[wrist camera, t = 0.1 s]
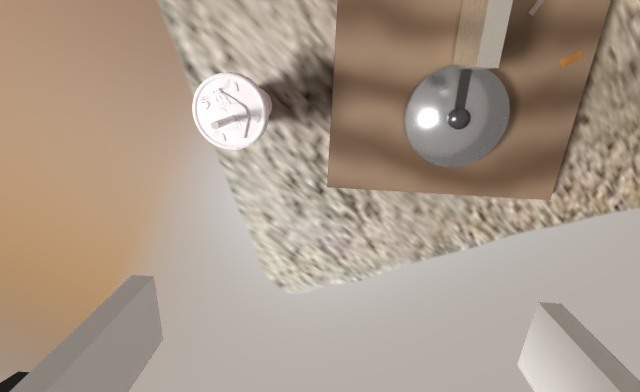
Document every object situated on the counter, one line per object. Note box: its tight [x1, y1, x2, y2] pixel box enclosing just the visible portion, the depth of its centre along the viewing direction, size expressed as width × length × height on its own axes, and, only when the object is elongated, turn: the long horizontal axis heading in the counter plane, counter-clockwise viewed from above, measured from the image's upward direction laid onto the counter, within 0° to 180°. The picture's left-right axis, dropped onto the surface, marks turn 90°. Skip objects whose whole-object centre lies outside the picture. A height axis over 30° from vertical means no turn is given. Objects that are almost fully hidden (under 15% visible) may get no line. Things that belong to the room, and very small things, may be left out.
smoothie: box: [192, 72, 272, 150], centre depth 30 cm, size 6×6×14 cm
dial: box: [403, 0, 513, 167], centre depth 30 cm, size 16×10×6 cm, turn 177°
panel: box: [327, 0, 611, 200], centre depth 34 cm, size 21×25×2 cm
